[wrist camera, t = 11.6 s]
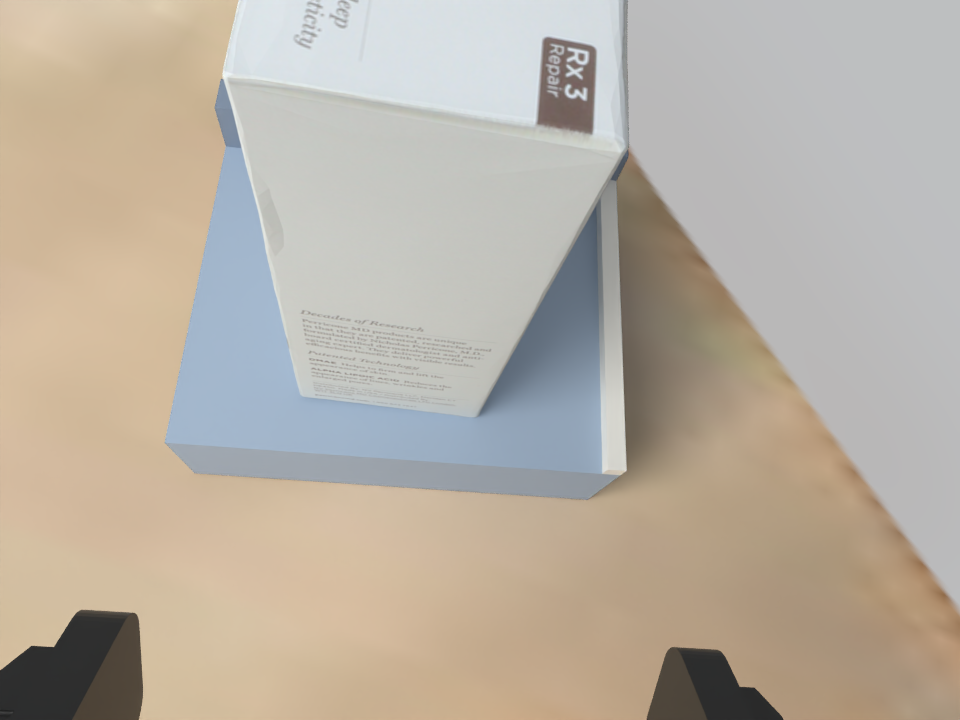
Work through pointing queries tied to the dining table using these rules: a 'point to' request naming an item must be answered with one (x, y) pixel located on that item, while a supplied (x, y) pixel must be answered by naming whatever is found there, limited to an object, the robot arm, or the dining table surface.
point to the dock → (392, 431)
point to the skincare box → (422, 178)
